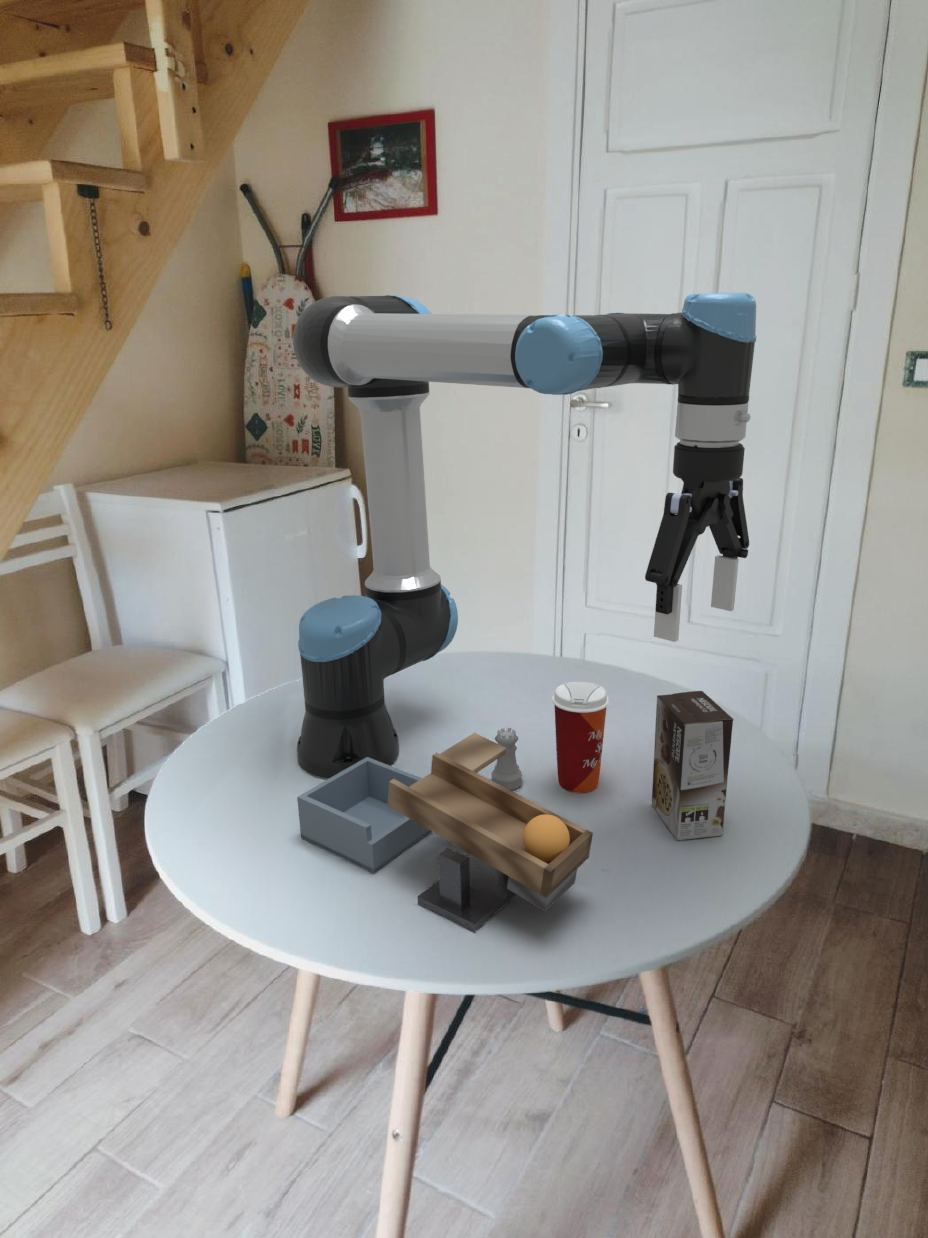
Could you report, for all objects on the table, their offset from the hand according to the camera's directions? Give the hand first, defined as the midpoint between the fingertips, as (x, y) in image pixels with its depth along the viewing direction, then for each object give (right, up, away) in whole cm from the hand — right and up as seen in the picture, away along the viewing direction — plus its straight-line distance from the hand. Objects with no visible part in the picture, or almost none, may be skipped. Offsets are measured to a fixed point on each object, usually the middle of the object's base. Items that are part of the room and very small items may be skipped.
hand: (695, 623), depth 103 cm
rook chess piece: (-21, -23, +19) cm, 37 cm away
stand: (-25, -30, -2) cm, 39 cm away
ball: (-19, -23, -10) cm, 31 cm away
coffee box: (+1, -26, +9) cm, 27 cm away
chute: (-23, -25, -1) cm, 34 cm away
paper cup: (-11, -23, +19) cm, 31 cm away
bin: (-39, -27, +8) cm, 48 cm away
